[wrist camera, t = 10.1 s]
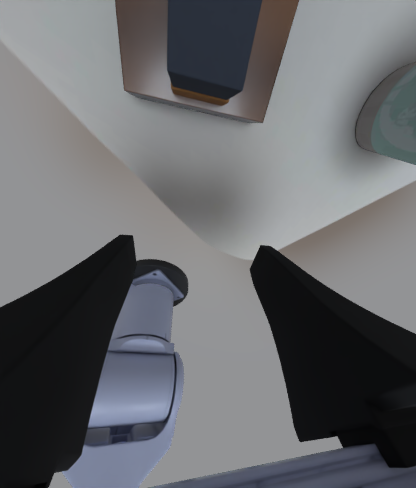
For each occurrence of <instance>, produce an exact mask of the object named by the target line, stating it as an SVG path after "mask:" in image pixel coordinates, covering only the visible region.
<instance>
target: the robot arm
mask: <svg viewBox="0 0 416 488" xmlns="http://www.w3.org/2000/svg"><path fill="white" fill-rule="evenodd" d="M136 265H137V263H136V256H135V248H134V241H133V236H132V235H119V236H118V237H116V238H115V239H113V240H112V241H111V242H109V243H108V244H106V245H105V246H104V247H102V248H101V249H100V250H98V251H97V252H95V253H94V254H92V255H91V256H90V257H88V258H87V259H85V260H84V261H82V262H81V263H79V264H77V265H76V266H74V267H73V268H71V269H70V270H68V271H67V272H65V273H63V274H62V275H60V276H58V277H57V278H55V279H53V280H52V281H50V282H48V283H46V284H45V285H43V286H41V287H39V288H37V289H35V290H34V291H32V292H30V293H28V294H26V295H24V296H23V297H20V298H19V299H16V300H14V301H13V302H10V303H8V304H6V305H4V306H2V307H0V488H48V487H49V485H50V482H51V480H52V477H53V475H54V473H56V472H62V473H63V474H64V476H65V477H66V479H67V480H68V482H69V483H70V484H71V486H72V487H73V488H138V487H139V486H140V484H141V483H142V482H143V480H144V479H145V478H146V476H147V475H148V474H149V473H150V472H151V470H152V469H153V468H154V467H155V466H156V464H157V463H158V462H159V461H160V459H161V458H162V457H163V456H164V455H165V453H166V452H167V451H168V450H169V448H170V446H171V441H172V437H173V434H174V428H175V422H176V417H177V412H178V410H179V407H180V403H181V399H182V393H183V384H184V369H183V362H182V360H181V358H180V355H179V354H178V353H177V352H174V343H170V340H171V327H172V313H173V301H175V300H178V299H180V298H183V297H184V294H183V293H182V292H181V291H180V290H179V289H178V288H177V287H176V286H175V285H174V284H173V283H172V282H171V280H170V279H169V278H168V277H167V276H166V275H165V274H164V273H163V272H162V271H161V270H159V269H156V270H154V271H151V272H149V273H147V274H144V275H142V276H139V277H137V278H135V279H133V277H134V273H135V269H136ZM155 273H156V274H155ZM250 273H251V277H252V281H253V284H254V287H255V290H256V292H257V295H258V297H259V299H260V302H261V304H262V307H263V309H264V311H265V314H266V316H267V319H268V321H269V324H270V327H271V331H272V334H273V337H274V340H275V344H276V347H277V351H278V354H279V358H280V362H281V366H282V371H283V375H284V379H285V383H286V388H287V393H288V398H289V402H290V408H291V413H292V418H293V424H294V428H295V431H296V434H297V436H298V439H299V441H300V442H304V441H310V440H317V439H323V438H330V437H335V436H338V438H339V440H340V442H341V444H342V446H343V448H341V449H336V450H331V451H326V452H321V453H316V454H311V455H307V456H301V457H296V458H292V459H287V460H282V461H277V462H272V463H267V464H262V465H257V466H252V467H247V468H242V469H237V470H233V471H228V472H223V473H218V474H213V475H208V476H203V477H198V478H193V479H189V480H184V481H179V482H174V483H169V484H164V485H159V486H154V487H149V488H416V334H415V333H412V332H410V331H408V330H406V329H404V328H402V327H400V326H398V325H396V324H394V323H391V322H389V321H387V320H385V319H383V318H381V317H379V316H377V315H375V314H373V313H372V312H370V311H368V310H366V309H364V308H362V307H361V306H359V305H357V304H355V303H353V302H352V301H350V300H348V299H346V298H345V297H343V296H341V295H340V294H338V293H336V292H335V291H333V290H332V289H330V288H328V287H327V286H325V285H324V284H322V283H321V282H319V281H318V280H316V279H315V278H314V277H312V276H311V275H309V274H308V273H306V272H305V271H304V270H302V269H301V268H300V267H298V266H297V265H296V264H294V263H293V262H292V261H290V260H289V259H288V258H286V257H285V256H284V255H282V254H281V253H280V252H278V251H277V250H275V249H274V248H272V247H271V246H264V245H260V248H259V250H258V252H257V254H256V257H255V259H254V261H253V263H252V266H251V268H250Z"/></svg>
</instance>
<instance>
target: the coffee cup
mask: <svg viewBox="0 0 416 488" xmlns="http://www.w3.org/2000/svg"><path fill="white" fill-rule="evenodd" d="M356 139H357V142H358V144H359V145H360V146H361V147H362V148H363V149H366V150H369V151H372V152H375V153H379V154H382V155H385V156H388V157H391V158H395V159H398V160H401V161H404V162H408V163H411V164H414V165H416V62H414V63H411V64H409V65H406V66H404V67H401V68H400V69H398V70H396V71H395V72H393V73H392V74H390V75H389V76H388V77H387V78H386V79H385V80H384V81H382V82H381V83H380V85H379V86H378V87H377V88H376V89H375V90H374V91H373V93H372V94H371V95H370V97H369V98H368V100H367V101H366V103H365V105H364V107H363V109H362V111H361V113H360V115H359V118H358V122H357V126H356Z"/></svg>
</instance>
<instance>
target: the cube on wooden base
mask: <svg viewBox="0 0 416 488" xmlns="http://www.w3.org/2000/svg"><path fill="white" fill-rule="evenodd" d="M261 4H262V0H168V23H167V72H168V74H169V77H170V80H171V90H172V92H173V94H176V95H180V96H184V97H188V98H192V99H196V100H200V101H204V102H209V103H213V104H217V105H221V106H223V105H225V104H227V103H228V102H229V99H230V98H231V97H233V96H235V95H236V94H238V93H240V92H242V90H243V87H244V82H245V78H246V73H247V69H248V64H249V59H250V55H251V50H252V45H253V41H254V36H255V32H256V27H257V22H258V18H259V13H260V9H261Z"/></svg>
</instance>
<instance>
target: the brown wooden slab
mask: <svg viewBox="0 0 416 488" xmlns="http://www.w3.org/2000/svg"><path fill="white" fill-rule="evenodd" d="M298 2H299V0H262V4H261V9H260V13H259V18H258V22H257V27H256V32H255V36H254V41H253V45H252V50H251V55H250V59H249V64H248V69H247V73H246V78H245V82H244V87H243V90H242V92H240V93H238V94H236V95H235V96H233V97H231V98H230V99H229V102H228V103H227V104H225V105H223V106H221V105H217V104H213V103H209V102H204V101H200V100H196V99H192V98H188V97H184V96H180V95H176V94H173V92H172V90H171V80H170V77H169V74H168V72H167V23H168V0H115V5H116V15H117V24H118V34H119V44H120V54H121V64H122V74H123V84H124V90H125V91H126V92H128V93H130V94H132V95H134V96H135V97H137V98H142V99H146V100H150V101H155V102H159V103H164V104H168V105H172V106H177V107H181V108H185V109H190V110H194V111H199V112H203V113H207V114H212V115H216V116H220V117H225V118H229V119H234V120H238V121H242V122H247V123H263V120H264V117H265V114H266V110H267V107H268V103H269V100H270V97H271V93H272V90H273V86H274V83H275V80H276V76H277V73H278V70H279V66H280V63H281V59H282V56H283V53H284V49H285V46H286V43H287V39H288V36H289V32H290V29H291V26H292V22H293V19H294V16H295V12H296V9H297V5H298Z"/></svg>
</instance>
